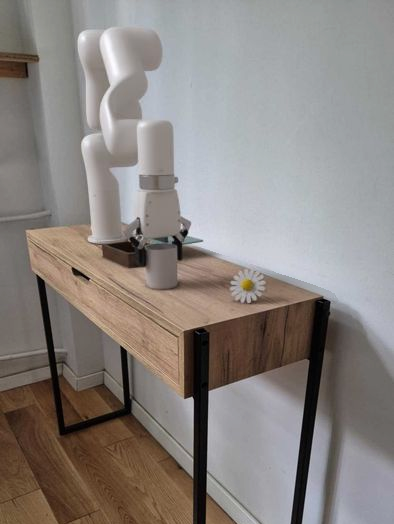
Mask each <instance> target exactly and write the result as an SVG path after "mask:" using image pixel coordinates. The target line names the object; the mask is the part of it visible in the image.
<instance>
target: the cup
mask: <svg viewBox="0 0 394 524" xmlns="http://www.w3.org/2000/svg"><path fill="white" fill-rule="evenodd" d="M145 250H146V267H145V281H146V285H147V288H150V289H153V290H169V289H170V290H171V289H173V288H176V287H177V285H178V279H179V278H178V277H179V276H178V274H179V273H178V260H177V246H176V245H174V244H169V243H155V242H154V243H150V244H149V245H146V246H145Z"/></svg>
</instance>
